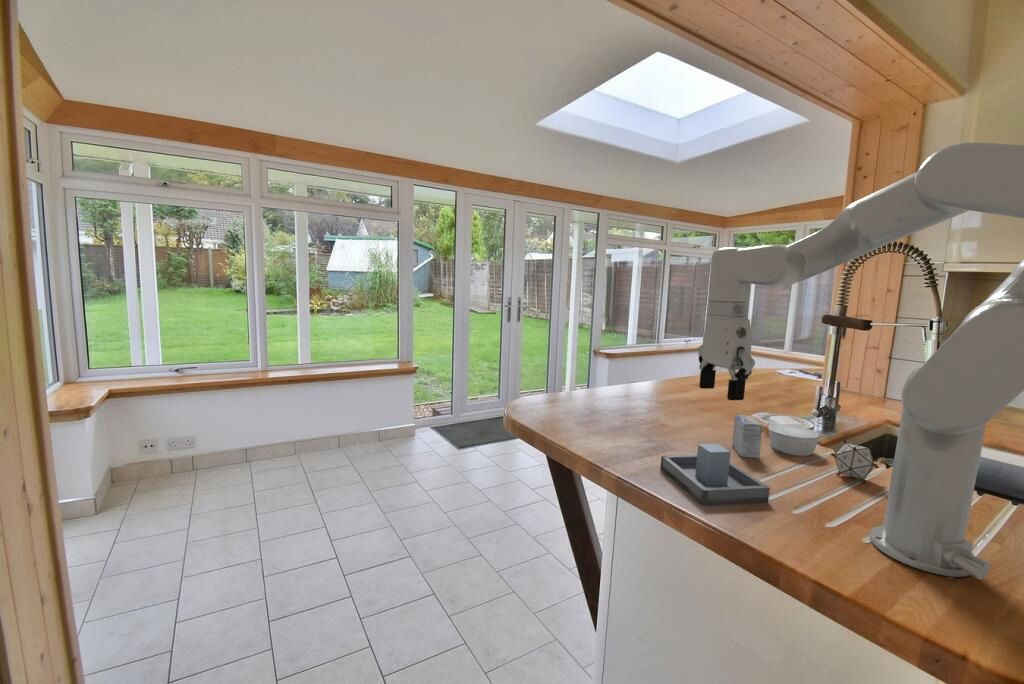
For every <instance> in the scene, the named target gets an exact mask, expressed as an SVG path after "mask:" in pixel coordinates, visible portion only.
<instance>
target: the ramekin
mask: <svg viewBox="0 0 1024 684" xmlns="http://www.w3.org/2000/svg"><path fill="white" fill-rule="evenodd" d="M767 428H768V429H767V430H768V431H767V432H768V433H769V443H770V446H771V448H773V449H774V451H778V452H780V453H783V454H786V455H791V456H798V457H808V456H811V455H812V454H814V453H815V450H816V446H817V444H818V441H819V440H820V437H821V436H820V434H819V433H818V432H816V431H814V430H812V429H811V428H810V429H809V428H807V427H802V426H799V425H792V424H783V423H782V424H781V423H780V424H779V423H777V424H772V425H769V426H768V427H767Z"/></svg>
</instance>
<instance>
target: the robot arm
mask: <svg viewBox="0 0 1024 684" xmlns="http://www.w3.org/2000/svg"><path fill="white" fill-rule="evenodd" d="M969 211H971V212H976V213H977V212H978V213H983V214H991V215H997V216H1004V217H1012V218H1018V219H1024V145H1022V144H1011V143H1008V144H1007V143H996V142H994V143H993V142H992V143H991V142H963V143H956V144H952V145H948V146H946V147H944V148H942V149H939V150H937V151H936V152H934V153H932V154H931V155H929V157H927V158H926V159H925V161H924V162H923V163H922V164H921V166H919V169H918V170H917V172H915V173H911V174H910V175H908V176H906V177H903V178H902V179H900V180H898V181H896V182H893V183H892V184H890V185H888V186H885V187H883V188H882V189H880V190H877V191H875V192H873V193H871V194H869V195H867V196H865V197H863V198H859V199H858V200H856V201H854V202H852V203H850V204H849V205H848V206H846V207H845V208H844V209H843V210H842V211H841V212H840V213H839V214H838V215H837V216H836V218H834V219H833V220H832V221H831V222H830V223H829V224H827V225H826V226H825V227H822V229H821V228H820V230H818V231H817V232H814V233H812V234H811V235H808V236H806V237H804V238H802V239H799V240H798V241H796V242H794V243H791V244H789V245H786V246H785V245H779V244H766V245H761V246H760V245H759V246H754V247H747V248H746V247H721V248H717V249H716V250H714V251H713V253H712V255H711V261H710V262H711V263H710V274H709V288H708V298H707V299H708V300H707V312H706V322H705V325H704V330H703V336H702V337H703V338H702V345H700V346H698V347H697V353H698V355H697V356H698V362H699V370H700V374H699V375H700V376H699V389H702V390H703V389H704V390H705V389H706V390H707V389H714V388H715V382H716V373H717V371H716V369H715V368H716V367H720V368H721V369H722V368H723V369H727V370H728V373H729V375H730V378H731V379H728V383H727V384H728V387H727V400H729V401H743V400H744V399H745V390H746V382H747V381H748V380H749V376H750V375H752V370H753V369H754V367H755V365H756V361H755V360H754V358H753V357H752V328H751V327H752V326H751V321H750V320H751V319H750V318H749V310H750V302H751V293H752V292H751V291H752V290H751V289H752V285H757V286H763V287H788V286H792V285H795V284H798V283H801V282H803V281H804V280H808V279H811V278H812V277H814V276H818V275H820V274H822V273H824V272H828V271H829V270H832V269H834V268H836V267H838V266H840V265H841V266H842V265H843V264H846V263H848V262H849V261H851V260H854V259H857V258H859V257H862V256H864V255H867V254H869V253H870V252H873V251H876V250H877V249H880V248H882V247H884V246H886V245H888V244H891V243H894V242H896V241H899V240H901V239H902V238H905V237H907V236H910V235H914V234H915V233H918V232H920V231H923V230H925V229H927V228H929V227H933V226H935V225H937V224H939V223H942V222H945V221H948V220H950V219H952V218H954V217H957V216H959V215H962V214H964V213H966V212H969ZM736 370H738V371H736ZM1023 392H1024V258H1023V259H1022V260H1021V261H1020V262H1019V263H1018V264H1017V265H1016V266H1015V268H1014V269H1013V270H1012V271H1011V273H1010V274H1009V275H1008V276H1007V277H1006V278H1005V279H1004V280H1003V281H1002V283H1000V285H999V286H998V287H997V288H996V289H995V290H994V291H993V292H992V293H991V294H990V295H989V296H988V297H987V298H986V299H985V300H983V302H982V303H980V305H978V306H976V307H975V308H974V309H972V310H971V311H970V312H969V313H967V315H966V316H965V317H964V319H963V320H962V322H961V324H960V325H959V326H958V327H957V328H956V329H955V331H953V333H952V334H951V335H950V336H949V337H947V339H946V340H945V341H944V342H943V343H942V344H941V345H940V346H939V347H938V349H937V350H936V351H935V352H934V353H933V354H932V355H931V356H930V357H929V358H928V359H927V360H926V361H925V363H923V364H921V365H919V366H917V367H916V368H915V369H913V370H912V371H911V372H910V374H909V375H908V376H907V379H906V380H905V382H904V385H903V387H902V391H901V404H902V412H901V417H900V424H899V427H898V428H899V430H898V435H897V440H896V448H895V451H894V458H893V463H892V464H893V465H892V471H891V477H890V484H889V489H888V490H889V491H888V496H887V502H886V503H887V504H886V510H885V516H884V521H883V525H878V526H874V527H873V528H871V530H870V533H869V538H870V541H871V543H872V544H873V545H874V546H875V548H877V549H879V551H881V552H882V553H884V554H886V556H888V557H890V558H892V559H893V560H896V561H898V562H899V563H900V562H901V563H902V564H904V565H907V566H909V567H912V568H915V569H917V570H921V571H924V572H927V573H931V574H936V575H940V576H944V577H945V576H946V577H953V578H955V577H956V578H957V577H959V578H963V577H968V576H972V577H974V578H976V579H978V580H982V581H983V580H984V579H985V578H987V576H988V574H989V571H990V570H991V568H992V564H991V563H990V562H988V561H986V560H984V559H983V558H980V557H979V556H976V555H974V553H973V546H974V543H973V542H971V541H970V540H968V539H966V535H967V530H968V526H969V525H968V524H969V519H970V514H971V510H972V509H971V507H972V502H973V497H974V492H975V487H976V486H975V485H976V480H977V474H978V471H979V467H980V461H981V458H982V457H981V456H982V450H983V444H984V438H985V432H986V425H987V424H988V423H989V422H990V421H991V420H993V419H994V418H995V417H996V416H997V415H998V414H999V413H1000V412H1002V411H1003V410H1005V408H1006V407H1007V406H1008V405H1010V404H1011V402H1012V401H1014V400H1015V399H1016V398H1018V396H1019V395H1021V394H1022V393H1023Z"/></svg>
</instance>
